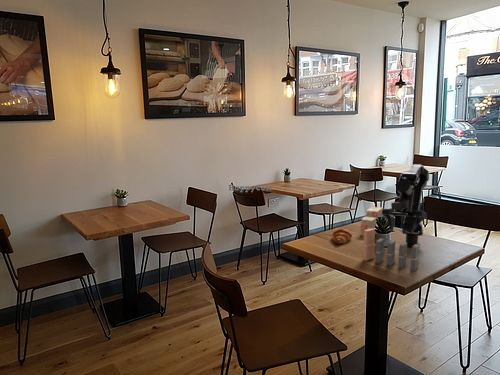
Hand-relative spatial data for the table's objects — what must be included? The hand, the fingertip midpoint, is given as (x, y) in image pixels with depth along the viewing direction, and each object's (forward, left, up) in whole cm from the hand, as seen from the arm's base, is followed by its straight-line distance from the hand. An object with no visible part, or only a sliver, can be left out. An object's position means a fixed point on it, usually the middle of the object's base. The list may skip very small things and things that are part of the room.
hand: (400, 232), depth 171 cm
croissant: (-15, -34, -14) cm, 40 cm away
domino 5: (+5, +8, -14) cm, 16 cm away
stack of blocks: (-39, -27, -14) cm, 49 cm away
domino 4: (+5, +3, -14) cm, 15 cm away
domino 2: (+5, -7, -14) cm, 16 cm away
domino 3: (+5, -2, -14) cm, 15 cm away
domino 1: (+5, -13, -14) cm, 19 cm away
